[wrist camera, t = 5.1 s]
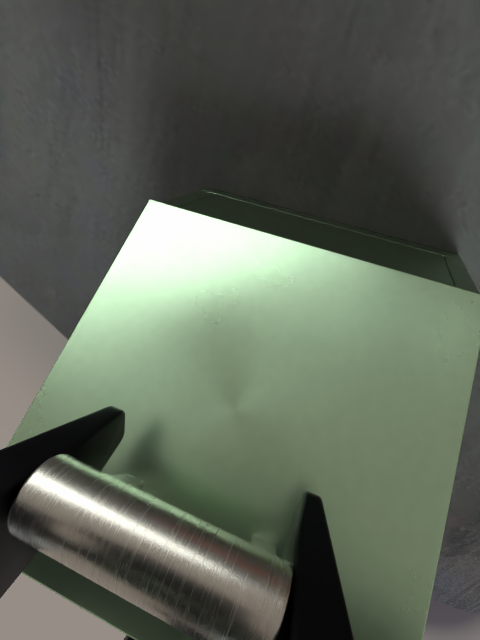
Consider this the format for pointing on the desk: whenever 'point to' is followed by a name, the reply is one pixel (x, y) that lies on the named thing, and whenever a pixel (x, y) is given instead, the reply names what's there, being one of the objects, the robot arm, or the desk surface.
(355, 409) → the machine lid
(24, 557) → the robot arm
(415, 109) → the desk surface
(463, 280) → the green box
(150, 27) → the desk surface
